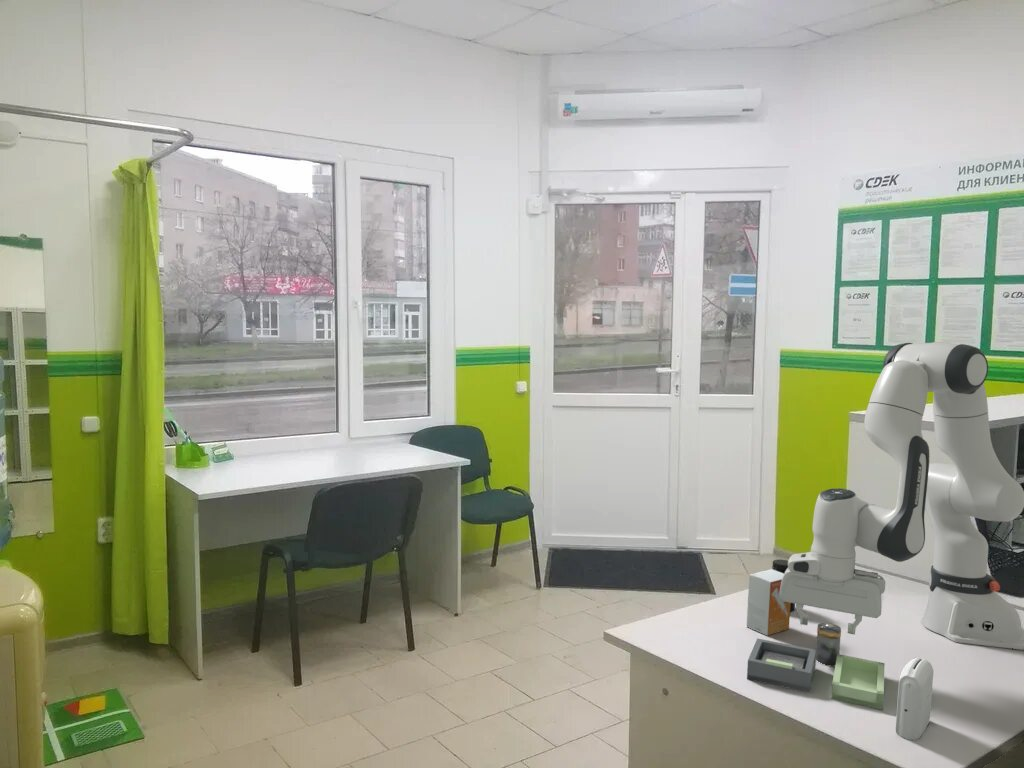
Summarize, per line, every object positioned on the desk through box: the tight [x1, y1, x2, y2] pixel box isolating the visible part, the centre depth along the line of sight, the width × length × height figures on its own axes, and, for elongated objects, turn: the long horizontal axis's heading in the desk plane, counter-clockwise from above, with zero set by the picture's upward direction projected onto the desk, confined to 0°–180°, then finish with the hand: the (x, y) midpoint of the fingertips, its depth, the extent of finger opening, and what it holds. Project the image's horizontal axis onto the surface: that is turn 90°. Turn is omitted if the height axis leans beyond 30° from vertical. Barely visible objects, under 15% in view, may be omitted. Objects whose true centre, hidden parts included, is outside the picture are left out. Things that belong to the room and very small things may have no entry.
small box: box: [746, 568, 791, 637], centre depth 184 cm, size 8×6×13 cm
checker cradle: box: [746, 638, 817, 694], centre depth 161 cm, size 12×12×5 cm
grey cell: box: [815, 622, 842, 667], centre depth 167 cm, size 5×5×8 cm
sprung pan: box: [762, 651, 805, 669], centre depth 161 cm, size 8×8×1 cm
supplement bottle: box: [771, 559, 796, 613], centre depth 197 cm, size 7×7×12 cm
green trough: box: [831, 653, 886, 711], centre depth 156 cm, size 9×15×3 cm, turn 154°
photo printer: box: [895, 657, 934, 741], centre depth 141 cm, size 10×4×12 cm, turn 140°
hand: (827, 628), depth 167 cm, fingers open, 8 cm apart
